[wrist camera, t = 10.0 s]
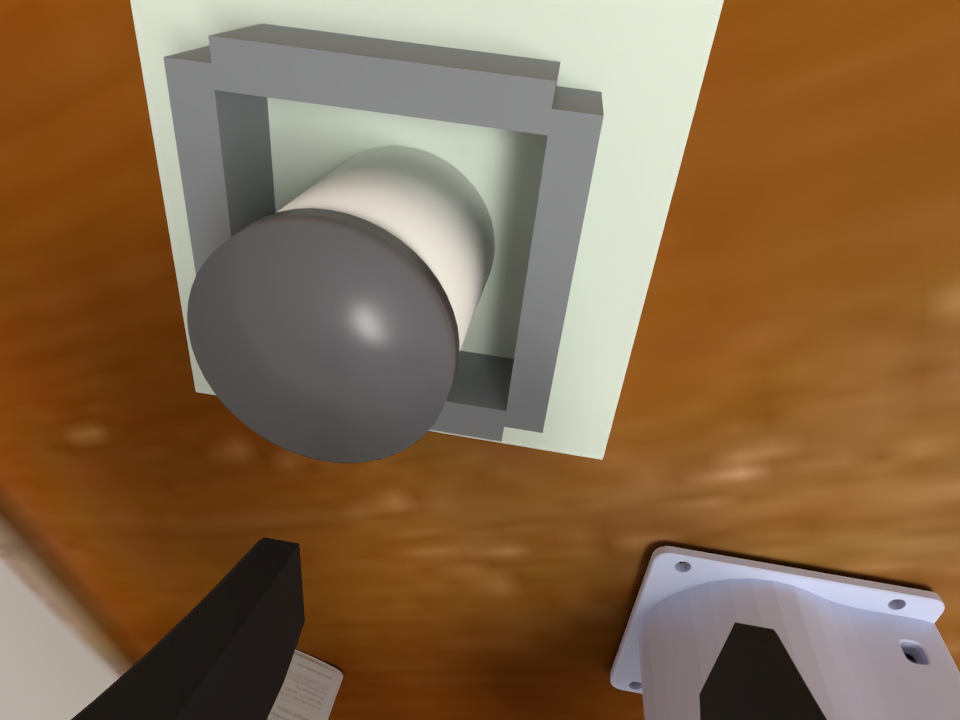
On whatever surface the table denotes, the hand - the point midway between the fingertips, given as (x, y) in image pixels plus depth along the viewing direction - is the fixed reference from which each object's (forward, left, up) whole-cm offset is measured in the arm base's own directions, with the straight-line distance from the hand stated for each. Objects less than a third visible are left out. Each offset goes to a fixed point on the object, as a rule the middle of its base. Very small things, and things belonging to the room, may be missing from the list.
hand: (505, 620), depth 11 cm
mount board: (+4, -3, -9) cm, 11 cm away
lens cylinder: (+4, -3, -9) cm, 10 cm away
